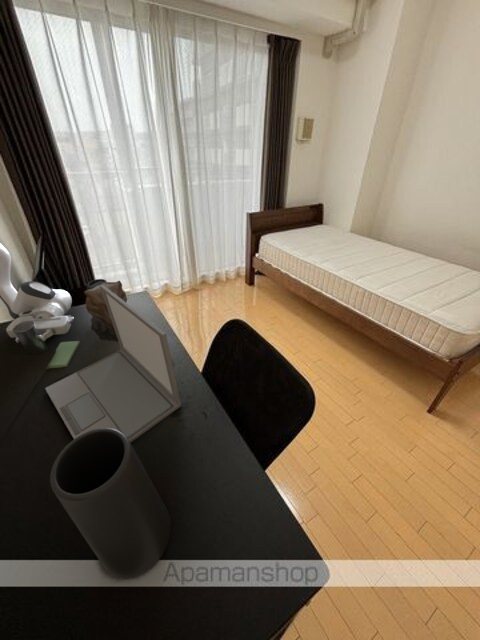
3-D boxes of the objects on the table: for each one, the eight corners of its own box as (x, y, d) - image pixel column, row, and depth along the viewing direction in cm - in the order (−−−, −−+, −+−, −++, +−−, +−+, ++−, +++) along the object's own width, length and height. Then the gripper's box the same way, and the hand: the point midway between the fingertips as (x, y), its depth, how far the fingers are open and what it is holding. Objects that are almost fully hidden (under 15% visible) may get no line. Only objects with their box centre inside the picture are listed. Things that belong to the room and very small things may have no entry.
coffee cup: (92, 318, 120) (80, 287, 111) (104, 307, 126) (94, 277, 118) (110, 320, 118) (99, 289, 109) (121, 310, 125) (112, 279, 116)
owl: (94, 340, 108) (76, 295, 96) (110, 321, 118) (95, 277, 106) (126, 342, 107) (111, 296, 95) (139, 322, 117) (127, 279, 105)
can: (25, 359, 100) (8, 333, 93) (34, 347, 105) (18, 321, 98) (44, 358, 100) (29, 331, 93) (52, 346, 105) (38, 320, 98)
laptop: (46, 391, 88) (2, 319, 72) (125, 350, 103) (103, 284, 87) (92, 470, 68) (45, 396, 52) (182, 405, 83) (166, 332, 67)
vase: (183, 514, 60) (159, 436, 43) (141, 595, 50) (88, 534, 33) (133, 487, 65) (93, 407, 48) (84, 556, 54) (12, 486, 38)
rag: (45, 368, 96) (44, 366, 95) (61, 343, 106) (60, 342, 106) (66, 367, 96) (65, 365, 96) (80, 342, 107) (79, 340, 106)
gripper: (78, 322, 112) (64, 345, 101) (23, 326, 110) (3, 349, 99) (72, 309, 108) (57, 331, 97) (16, 312, 106) (-6, 335, 95)
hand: (29, 340), depth 98 cm, fingers closed on can, 6 cm apart
